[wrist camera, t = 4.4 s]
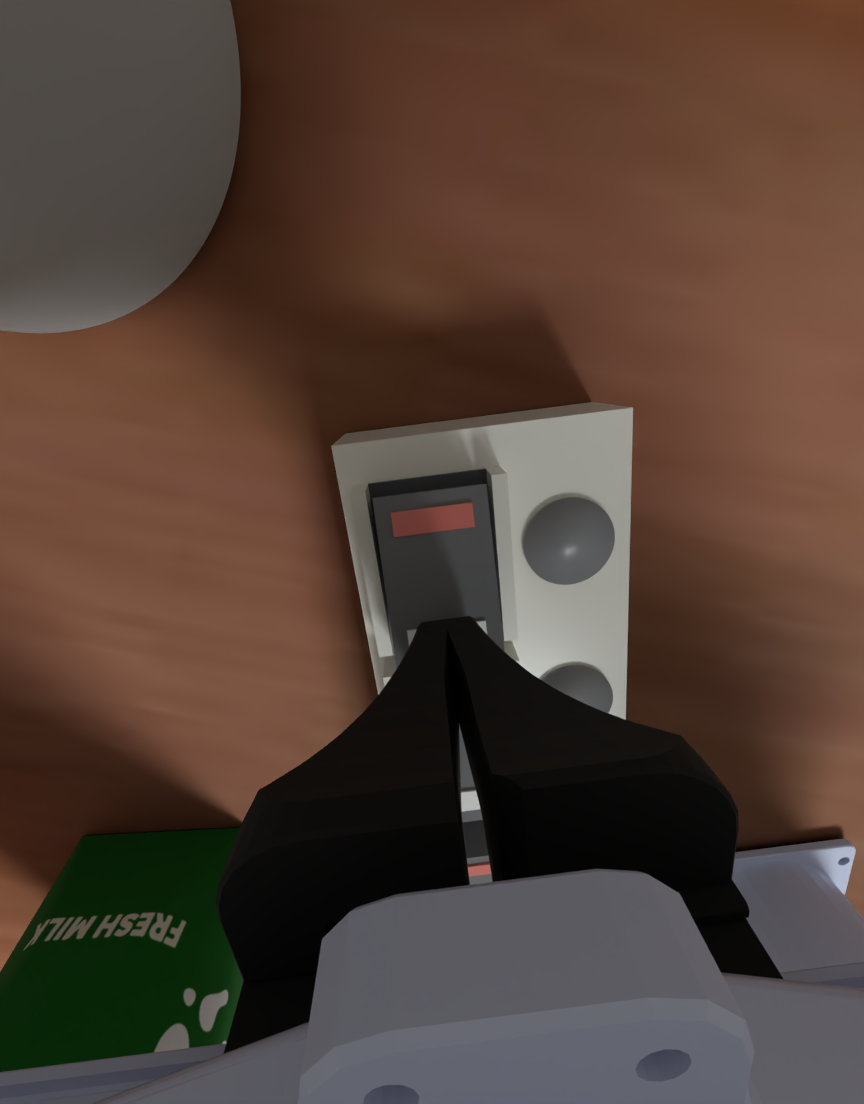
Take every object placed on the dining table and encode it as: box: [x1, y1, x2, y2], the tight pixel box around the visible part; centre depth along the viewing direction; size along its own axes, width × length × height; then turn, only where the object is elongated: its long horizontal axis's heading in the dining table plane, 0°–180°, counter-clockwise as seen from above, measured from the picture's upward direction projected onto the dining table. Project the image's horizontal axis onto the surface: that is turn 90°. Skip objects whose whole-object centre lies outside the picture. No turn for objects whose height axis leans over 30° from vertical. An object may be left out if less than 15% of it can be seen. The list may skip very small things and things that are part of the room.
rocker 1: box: [372, 484, 505, 667], centre depth 13 cm, size 4×3×2 cm, turn 7°
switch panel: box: [331, 402, 633, 720], centre depth 17 cm, size 22×8×4 cm, turn 7°
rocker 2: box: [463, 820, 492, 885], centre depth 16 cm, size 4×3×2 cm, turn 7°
